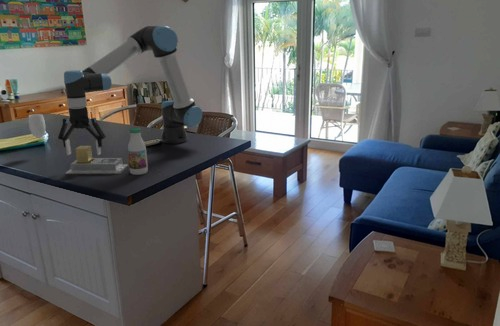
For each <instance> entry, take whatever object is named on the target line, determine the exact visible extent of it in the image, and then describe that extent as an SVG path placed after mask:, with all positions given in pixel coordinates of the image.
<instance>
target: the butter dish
mask: <svg viewBox="0 0 500 326" xmlns="http://www.w3.org/2000/svg"><path fill="white" fill-rule="evenodd" d="M127 167H129V163H127V164H126V163H124V164H123V158H122V157H93V161H92V162H90V163H77V159H75V160H74V161H73V162H72V163H70V169H68V170H66V172H65V175H120V174H122V172H123V171H124V170H125V169H127Z"/></svg>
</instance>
